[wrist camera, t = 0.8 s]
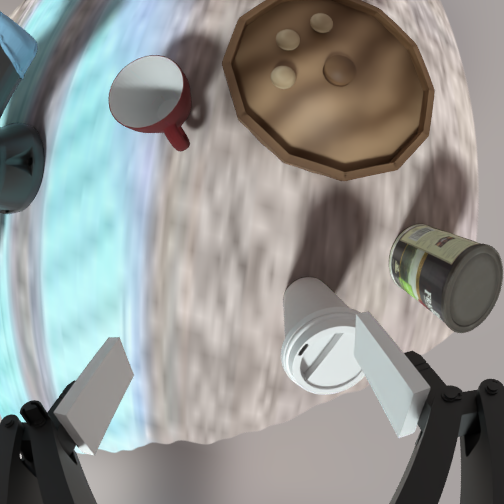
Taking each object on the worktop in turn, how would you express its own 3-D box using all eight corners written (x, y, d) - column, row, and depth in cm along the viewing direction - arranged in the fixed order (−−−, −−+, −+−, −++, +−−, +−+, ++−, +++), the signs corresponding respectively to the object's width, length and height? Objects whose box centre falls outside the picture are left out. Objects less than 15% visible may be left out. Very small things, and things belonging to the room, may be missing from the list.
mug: (225, 131, 33) (216, 111, 23) (173, 169, 34) (145, 165, 24) (180, 73, 31) (158, 41, 21) (131, 110, 32) (96, 91, 22)
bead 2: (264, 80, 30) (265, 72, 27) (281, 66, 30) (284, 57, 27) (282, 96, 31) (285, 89, 28) (299, 82, 30) (303, 74, 27)
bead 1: (270, 44, 29) (271, 33, 26) (285, 32, 28) (288, 21, 25) (287, 57, 29) (290, 48, 26) (302, 45, 29) (306, 35, 26)
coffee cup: (315, 251, 36) (353, 295, 22) (351, 302, 38) (396, 361, 24) (257, 294, 38) (261, 360, 23) (298, 341, 40) (317, 413, 25)
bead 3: (303, 26, 28) (307, 15, 25) (317, 16, 27) (322, 6, 24) (320, 39, 28) (325, 29, 26) (334, 30, 28) (340, 20, 25)
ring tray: (183, 74, 31) (178, 66, 28) (322, -23, 26) (326, -33, 23) (337, 222, 36) (344, 225, 33) (449, 102, 31) (461, 99, 28)
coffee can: (414, 302, 39) (465, 347, 25) (375, 264, 37) (429, 304, 23) (451, 252, 37) (511, 280, 23) (417, 208, 35) (483, 224, 21)
